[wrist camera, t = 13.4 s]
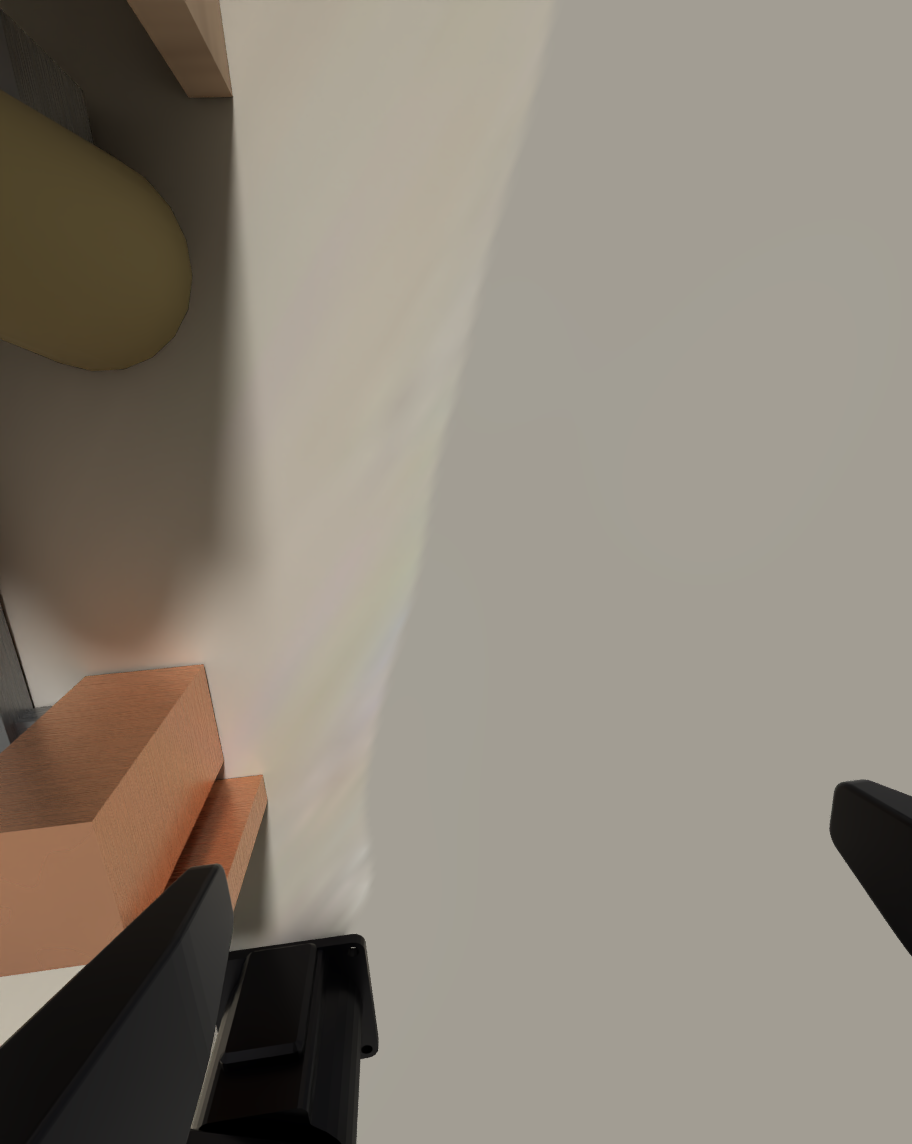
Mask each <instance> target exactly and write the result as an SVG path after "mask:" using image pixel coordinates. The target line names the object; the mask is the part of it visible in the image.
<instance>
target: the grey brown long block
mask: <svg viewBox="0 0 912 1144" xmlns="http://www.w3.org/2000/svg"><path fill="white" fill-rule="evenodd" d="M0 89H1V90H2V91H4V92H6V93H7V94H9V95H11V96H12V97H14V98H16V99H17V100H19V101H21V102H22V103H24V104H26V105H28V106H29V107H31V108H33V109H34V110H36V111H38V112H39V113H41V114H43V115H44V116H46V117H48V118H49V119H51V120H53V121H54V122H56V123H58V124H60V125H61V126H63V127H65V128H66V129H68V130H70V131H71V132H73V133H75V134H76V135H78V136H80V137H81V138H83V139H85V140H86V141H88V142H90V143H92V144H93V145H94V143H93V138H92V133H91V128H90V124H89V119H88V114H87V110H86V105H85V100H84V95H83V91H82V90H81V89H80V88H79V87H78V86H77V85H76V84H75V83H74V82H73V81H72V80H71V79H70V78H69V77H68V76H67V75H66V74H65V73H64V72H63V71H62V70H61V69H60V68H59V67H58V66H57V65H56V64H55V63H54V62H53V61H52V60H51V59H50V58H49V57H48V56H47V54H46V53H45V52H44V51H43V50H42V49H41V48H40V47H39V46H38V45H37V44H36V43H35V42H34V41H33V40H32V39H31V38H30V37H29V36H28V35H27V34H26V33H25V32H24V31H23V30H22V29H21V28H20V27H19V26H18V25H17V24H16V23H15V22H14V21H13V20H12V19H11V18H10V17H9V16H8V15H7V14H6V13H5V12H4V11H3V10H2V9H1V8H0ZM223 762H224V759H223V755H222V750H221V745H220V740H219V736H218V731H217V726H216V721H215V717H214V712H213V707H212V702H211V698H210V693H209V688H208V683H207V679H206V674H205V669H204V664H202V665H192V666H183V667H173V668H163V669H153V670H143V671H134V672H124V673H114V674H104V675H94V676H86V677H84V678H83V679H82V680H81V681H80V682H79V683H78V684H77V685H76V686H74V687H73V688H72V689H71V690H70V691H69V692H68V693H67V694H66V695H65V696H63V697H62V698H61V699H60V700H59V701H58V702H57V703H56V704H55V705H53V706H48V707H39V708H33V706H32V702H31V699H30V696H29V693H28V690H27V687H26V683H25V680H24V677H23V674H22V671H21V667H20V664H19V661H18V658H17V655H16V652H15V648H14V645H13V642H12V639H11V636H10V632H9V629H8V626H7V623H6V620H5V617H4V613H3V610H2V607H1V604H0V977H2V976H9V975H16V974H23V973H30V972H37V971H44V970H51V969H58V968H65V967H73V966H80V965H87V964H88V963H89V962H90V961H91V960H92V959H93V958H94V957H95V956H96V955H98V954H99V953H100V952H101V951H102V950H103V949H104V948H105V947H106V946H107V945H108V944H109V943H110V942H111V941H112V940H113V939H114V938H115V937H116V936H118V935H119V934H120V933H121V932H122V931H123V930H124V929H125V928H126V927H127V926H128V925H129V924H130V923H131V922H132V921H133V920H134V919H135V918H137V917H138V916H139V915H140V914H141V913H142V912H143V911H144V910H145V909H146V908H147V907H148V906H149V905H150V904H151V903H152V902H153V901H154V900H155V899H157V898H158V897H159V896H160V895H161V894H162V893H163V892H164V891H165V890H166V889H167V888H168V887H169V886H170V885H171V884H172V883H173V882H174V881H176V880H177V879H178V878H179V877H180V876H181V875H182V874H183V873H184V872H185V871H186V870H188V869H189V868H191V867H194V866H200V865H207V864H215V863H218V864H220V865H222V867H223V868H224V870H225V874H226V879H227V883H228V888H229V893H230V898H231V903H232V907H233V912H234V909H235V905H236V902H237V899H238V896H239V892H240V889H241V886H242V883H243V879H244V876H245V873H246V870H247V866H248V863H249V860H250V857H251V853H252V850H253V847H254V844H255V840H256V837H257V834H258V831H259V827H260V824H261V821H262V818H263V814H264V811H265V808H266V805H267V795H266V790H265V785H264V780H263V775H257V776H248V777H240V778H232V779H223V780H215V779H216V777H217V775H218V772H219V770H220V768H221V766H222V764H223Z"/></svg>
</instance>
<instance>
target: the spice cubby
mask: <svg viewBox="0 0 912 1144" xmlns="http://www.w3.org/2000/svg"><path fill="white" fill-rule="evenodd" d="M127 2H128V3H129V5H130V7H131V8H132V10H133V11H134V13H135V14H136V16H137V17H138V19H139V21H140V22H141V24H142V25H143V27H144V28H145V30H146V32H147V33H148V35H149V36H150V38H151V39H152V41H153V42H154V44H155V46H156V47H157V49H158V50H159V52H160V53H161V55H162V57H163V58H164V60H165V61H166V63H167V64H168V66H169V67H170V69H171V71H172V72H173V74H174V75H175V77H176V78H177V80H178V81H179V83H180V85H181V86H182V88H183V89H184V91H185V92H186V94H187V96H188V97H189V98H199V97H233V95H232V88H231V81H230V74H229V67H228V60H227V53H226V46H225V39H224V32H223V25H222V18H221V11H220V4H219V0H127Z"/></svg>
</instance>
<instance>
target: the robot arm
mask: <svg viewBox="0 0 912 1144" xmlns="http://www.w3.org/2000/svg"><path fill="white" fill-rule="evenodd" d="M829 829H830V835H831V838H832V841H833V843H834V845H835V847H836V848H837V850H838V851H839V853H840V854H841V856H842V857H843V859H844V860H845V862H846V863H847V864H848V866H849V867H850V869H851V870H852V872H853V873H854V875H855V876H856V877H857V879H858V880H859V882H860V883H861V885H862V886H863V888H864V889H865V891H866V892H867V894H868V895H869V897H870V898H871V900H872V901H873V902H874V904H875V905H876V907H877V908H878V910H879V911H880V913H881V914H882V915H883V917H884V919H885V920H886V921H887V923H888V924H889V926H890V927H891V929H892V930H893V932H894V933H895V934H896V936H897V937H898V939H899V940H900V941H901V943H902V944H903V945H904V947H905V948H906V950H907V951H908V952H909V954H910V955H911V956H912V796H909V795H907V794H904V793H902V792H899V791H896V790H894V789H891V788H888V787H886V786H883V785H880V784H878V783H875V782H873V781H869V780H854V781H846V782H841V783H840V784H838V785H837V786H836V788H835V791H834V796H833V804H832V811H831V819H830V828H829ZM233 923H234V915H233V907H232V903H231V898H230V893H229V888H228V883H227V879H226V874H225V870H224V868H223V867H222V865H220V864H218V863H215V864H207V865H200V866H194V867H191V868H189V869H188V870H186V871H185V872H184V873H183V874H182V875H181V876H180V877H179V878H178V879H177V880H176V881H174V882H173V883H172V884H171V885H170V886H169V887H168V888H167V889H166V890H165V891H164V892H163V893H162V894H161V895H160V896H159V897H158V898H157V899H155V900H154V901H153V902H152V903H151V904H150V905H149V906H148V907H147V908H146V909H145V910H144V911H143V912H142V913H141V914H140V915H139V916H138V917H137V918H135V919H134V920H133V921H132V922H131V923H130V924H129V925H128V926H127V927H126V928H125V929H124V930H123V931H122V932H121V933H120V934H119V935H118V936H116V937H115V938H114V939H113V940H112V941H111V942H110V943H109V944H108V945H107V946H106V947H105V948H104V949H103V950H102V951H101V952H100V953H99V954H98V955H96V956H95V957H94V958H93V959H92V960H91V961H90V962H89V963H88V964H87V965H86V966H85V967H84V968H83V969H82V970H81V971H80V972H79V973H77V974H76V975H75V976H74V977H73V978H72V979H71V980H70V981H69V982H68V983H67V984H66V985H65V986H64V987H63V988H62V989H61V990H60V991H59V992H57V993H56V994H55V995H54V996H53V997H52V998H51V999H50V1000H49V1001H48V1002H47V1003H46V1004H45V1005H44V1006H43V1007H42V1008H41V1009H40V1010H38V1011H37V1012H36V1013H35V1014H34V1015H33V1016H32V1017H31V1018H30V1019H29V1020H28V1021H27V1022H26V1023H25V1024H24V1025H23V1026H22V1027H21V1028H19V1029H18V1030H17V1031H16V1032H15V1033H14V1034H13V1035H12V1036H11V1037H10V1038H9V1039H8V1040H7V1041H6V1042H5V1043H4V1044H3V1045H2V1046H1V1047H0V1144H356V1137H357V1117H358V1096H359V1076H360V1075H359V1074H360V1059H363V1058H368V1057H372V1056H373V1055H375V1054H376V1053H377V1051H378V1031H377V1024H376V1018H375V1017H376V1016H375V1009H374V1002H373V995H372V987H371V979H370V972H369V964H368V957H367V950H366V942H365V939H364V938H363V937H362V936H360V935H358V934H350V935H343V936H336V937H329V938H322V939H315V940H308V941H301V942H294V943H287V944H280V945H273V946H266V947H259V948H252V949H245V950H238V951H231V952H229V949H230V943H231V937H232V932H233ZM351 947H356V948H351ZM216 1026H217V1030H218V1035H217V1039H216V1042H215V1046H214V1049H213V1053H212V1056H211V1060H210V1064H209V1067H208V1071H207V1074H206V1078H205V1081H204V1077H205V1073H206V1070H207V1066H208V1062H209V1058H210V1053H211V1048H212V1043H213V1038H214V1032H215V1027H216ZM203 1081H204V1085H203ZM202 1085H203V1088H202ZM201 1089H202V1092H201ZM200 1092H201V1096H200ZM199 1096H200V1099H199ZM198 1099H199V1103H198ZM197 1103H198V1106H197ZM196 1106H197V1110H196ZM195 1110H196V1113H195ZM194 1114H195V1117H194ZM193 1117H194V1121H193ZM192 1121H193V1124H192ZM191 1124H192V1128H191ZM190 1128H191V1129H190Z"/></svg>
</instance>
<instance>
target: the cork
mask: <svg viewBox="0 0 912 1144" xmlns="http://www.w3.org/2000/svg"><path fill="white" fill-rule="evenodd" d="M191 283H192V270H191V265H190V259H189V253H188V247H187V241H186V239H185V237H184V235H183V233H182V231H181V229H180V226H179V224H178V222H177V220H176V218H175V216H174V214H173V212H172V210H171V208H170V206H169V205H168V204H167V203H166V202H165V200H164V199H163V198H162V197H161V196H160V195H159V193H158V192H157V191H156V190H155V189H154V188H153V186H152V185H151V184H150V183H149V182H148V181H147V180H146V178H145V177H143V176H142V175H140V174H139V173H137V172H136V171H134V170H133V169H131V168H130V167H128V166H127V165H125V164H124V163H122V162H121V161H119V160H118V159H116V158H115V157H113V156H112V155H110V154H108V153H107V152H105V151H103V150H102V149H100V148H98V147H97V146H95V145H93V144H92V143H90V142H88V141H86V140H85V139H83V138H81V137H80V136H78V135H76V134H75V133H73V132H71V131H70V130H68V129H66V128H65V127H63V126H61V125H60V124H58V123H56V122H54V121H53V120H51V119H49V118H48V117H46V116H44V115H43V114H41V113H39V112H38V111H36V110H34V109H33V108H31V107H29V106H28V105H26V104H24V103H22V102H21V101H19V100H17V99H16V98H14V97H12V96H11V95H9V94H7V93H6V92H4V91H2V90H1V89H0V339H2V340H4V341H7V342H9V343H12V344H14V345H17V346H19V347H22V348H24V349H27V350H29V351H31V352H34V353H36V354H39V355H41V356H44V357H46V358H49V359H51V360H54V361H56V362H59V363H62V364H66V365H70V366H74V367H78V368H82V369H86V370H90V371H100V370H117V369H126V368H128V367H130V366H133V365H135V364H138V363H140V362H142V361H145V360H147V359H150V358H152V357H153V356H154V355H155V354H156V353H157V352H159V351H160V350H161V349H162V348H163V347H164V346H165V345H166V344H167V343H168V342H169V341H170V340H171V339H172V338H173V337H174V336H175V334H176V332H177V330H178V328H179V326H180V324H181V322H182V320H183V318H184V316H185V314H186V312H187V310H188V306H189V299H190V291H191Z"/></svg>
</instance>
